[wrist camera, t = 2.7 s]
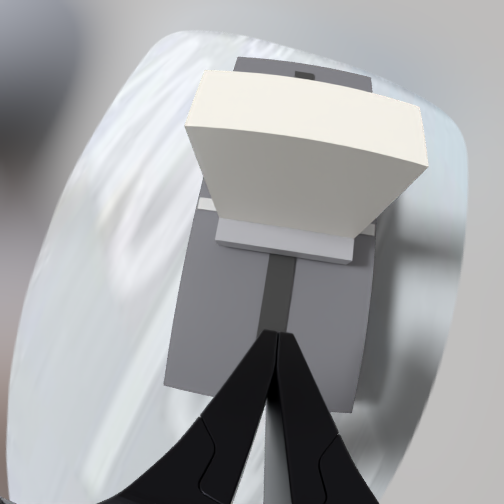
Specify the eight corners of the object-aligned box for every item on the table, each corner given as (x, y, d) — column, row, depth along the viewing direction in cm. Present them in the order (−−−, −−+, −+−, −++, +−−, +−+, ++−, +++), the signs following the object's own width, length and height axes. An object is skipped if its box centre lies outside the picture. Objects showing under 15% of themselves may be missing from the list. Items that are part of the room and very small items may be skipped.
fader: (345, 264, 14) (431, 203, 6) (218, 245, 14) (173, 161, 6) (351, 187, 15) (414, 83, 7) (233, 168, 15) (213, 49, 7)
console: (338, 400, 15) (352, 413, 12) (177, 376, 15) (162, 385, 13) (361, 99, 19) (371, 76, 17) (239, 80, 20) (237, 55, 17)
